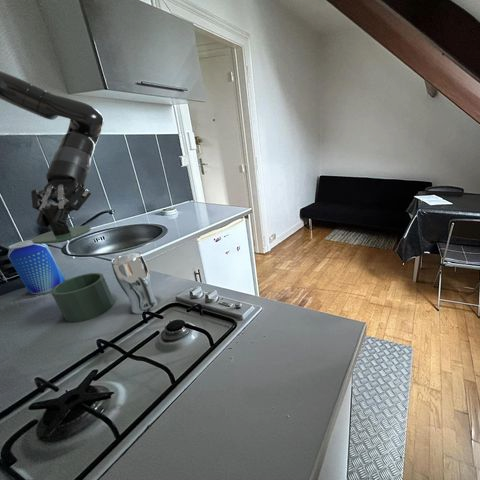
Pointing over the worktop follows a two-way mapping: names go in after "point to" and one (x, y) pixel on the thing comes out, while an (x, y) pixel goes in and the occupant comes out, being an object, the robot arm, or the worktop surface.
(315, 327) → the worktop surface
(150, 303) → the beer glass
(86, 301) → the tin
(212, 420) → the worktop surface
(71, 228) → the tin lid
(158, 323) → the worktop surface
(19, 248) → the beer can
